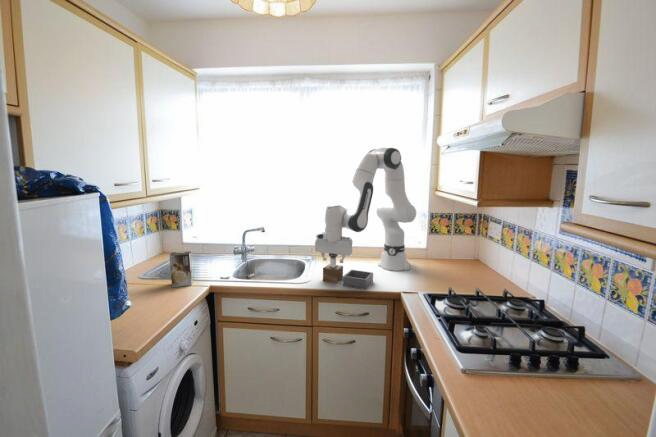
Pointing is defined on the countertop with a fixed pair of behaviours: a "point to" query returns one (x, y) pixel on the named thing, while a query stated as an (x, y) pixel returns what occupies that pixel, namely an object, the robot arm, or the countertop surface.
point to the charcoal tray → (358, 279)
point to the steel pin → (333, 260)
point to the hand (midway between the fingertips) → (333, 261)
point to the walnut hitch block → (333, 274)
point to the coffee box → (181, 269)
